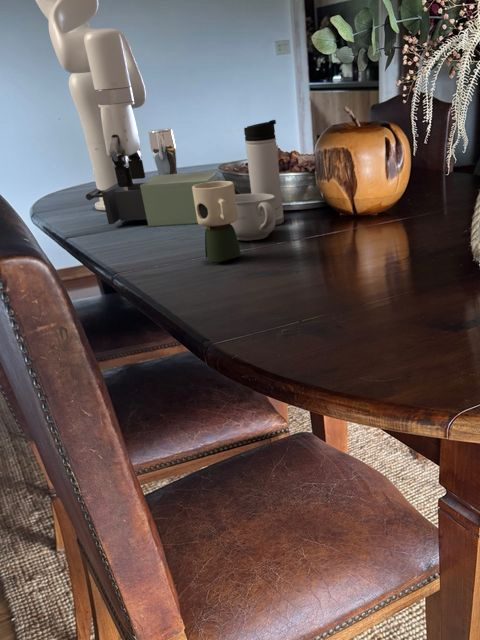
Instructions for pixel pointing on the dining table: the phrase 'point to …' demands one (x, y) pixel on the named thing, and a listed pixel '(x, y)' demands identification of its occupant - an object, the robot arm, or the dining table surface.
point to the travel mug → (264, 163)
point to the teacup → (254, 216)
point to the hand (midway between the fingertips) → (132, 182)
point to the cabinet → (173, 197)
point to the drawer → (121, 202)
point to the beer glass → (163, 150)
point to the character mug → (217, 218)
